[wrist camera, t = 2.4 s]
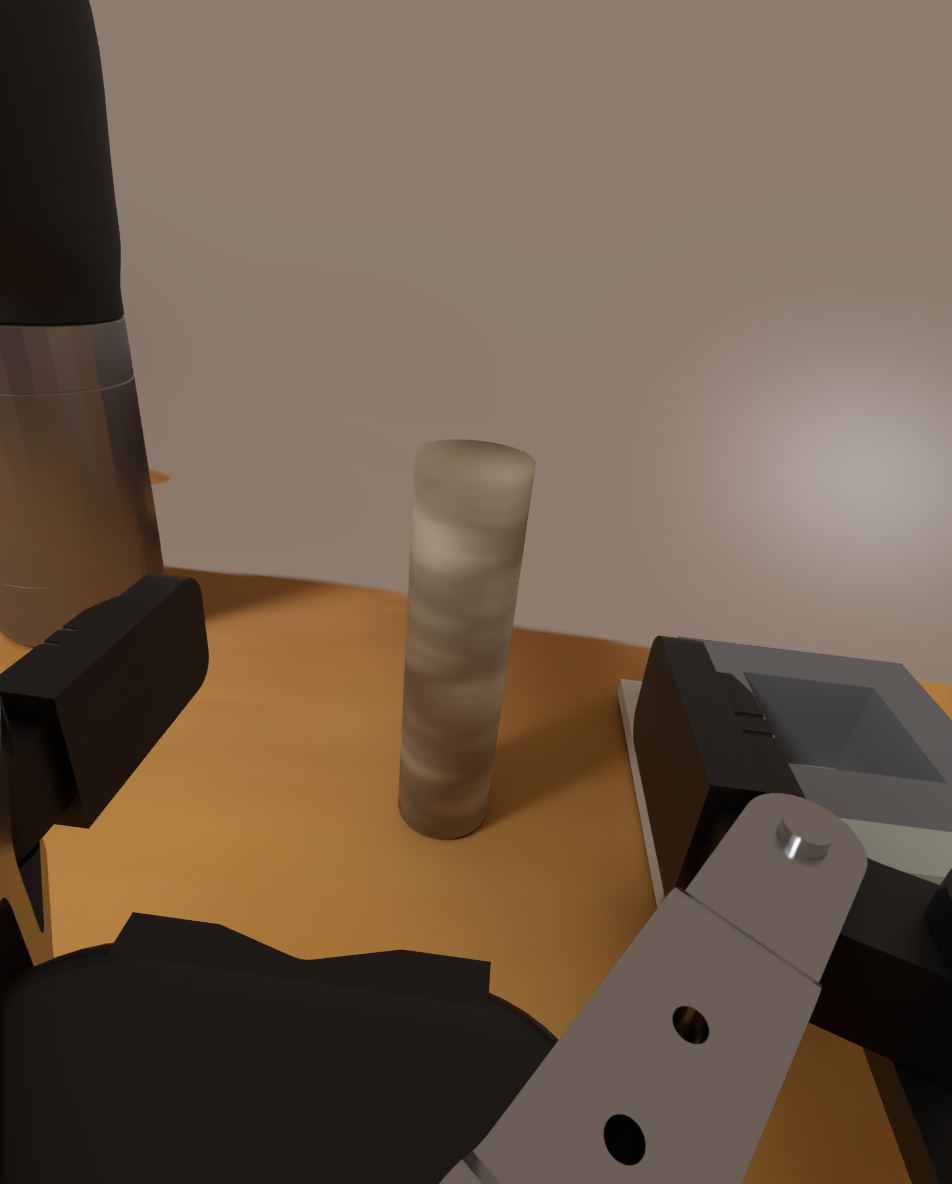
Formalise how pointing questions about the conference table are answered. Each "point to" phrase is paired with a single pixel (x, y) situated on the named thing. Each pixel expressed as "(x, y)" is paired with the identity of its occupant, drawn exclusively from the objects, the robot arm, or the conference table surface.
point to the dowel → (459, 627)
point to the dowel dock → (845, 749)
